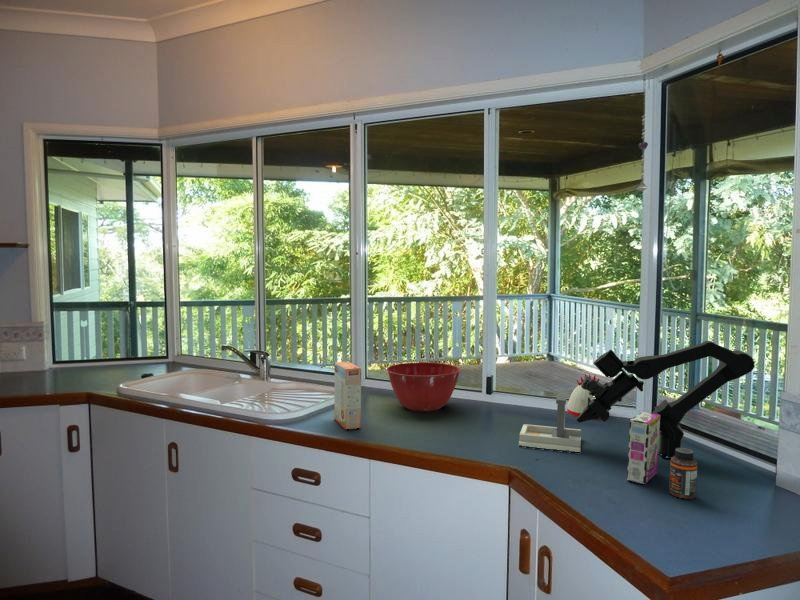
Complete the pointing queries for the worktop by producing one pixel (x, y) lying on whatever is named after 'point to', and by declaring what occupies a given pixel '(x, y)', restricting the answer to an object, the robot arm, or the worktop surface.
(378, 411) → the worktop surface
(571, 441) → the tray
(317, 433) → the worktop surface
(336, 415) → the cracker box
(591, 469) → the worktop surface
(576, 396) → the kitchen timer
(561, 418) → the slide lever
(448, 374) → the mixing bowl
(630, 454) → the candy bar box
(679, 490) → the supplement bottle
